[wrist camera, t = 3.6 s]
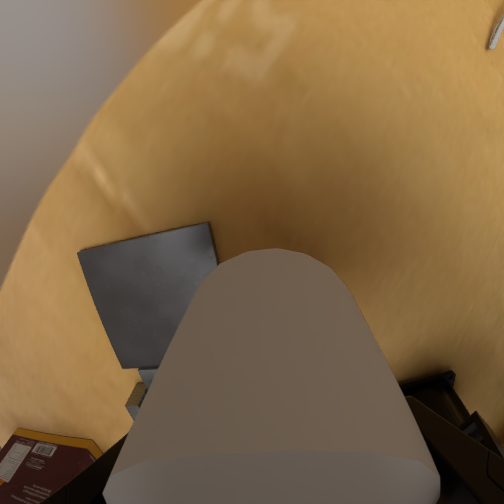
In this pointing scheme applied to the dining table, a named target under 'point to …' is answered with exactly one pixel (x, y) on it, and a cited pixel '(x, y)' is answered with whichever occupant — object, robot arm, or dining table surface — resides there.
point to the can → (273, 400)
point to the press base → (147, 293)
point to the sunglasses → (496, 34)
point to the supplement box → (41, 465)
